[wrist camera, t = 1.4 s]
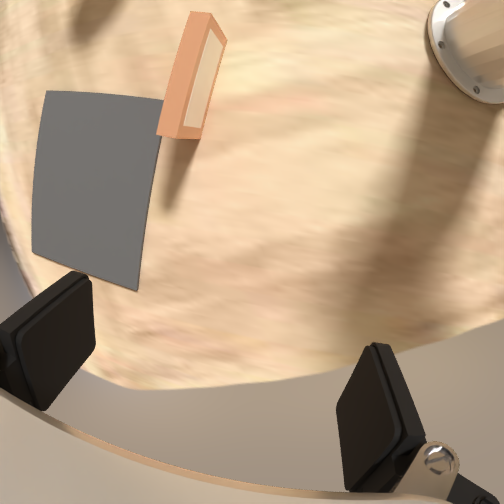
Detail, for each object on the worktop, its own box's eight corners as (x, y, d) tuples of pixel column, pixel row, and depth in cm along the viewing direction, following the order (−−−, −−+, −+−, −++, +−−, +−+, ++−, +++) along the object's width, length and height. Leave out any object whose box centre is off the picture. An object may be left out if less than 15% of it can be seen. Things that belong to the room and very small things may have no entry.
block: (211, 37, 24) (190, 11, 18) (227, 40, 24) (211, 13, 18) (184, 135, 28) (156, 134, 21) (201, 139, 28) (176, 138, 21)
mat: (48, 90, 27) (46, 90, 26) (170, 101, 27) (168, 101, 26) (33, 250, 34) (31, 252, 33) (138, 289, 34) (136, 290, 33)
